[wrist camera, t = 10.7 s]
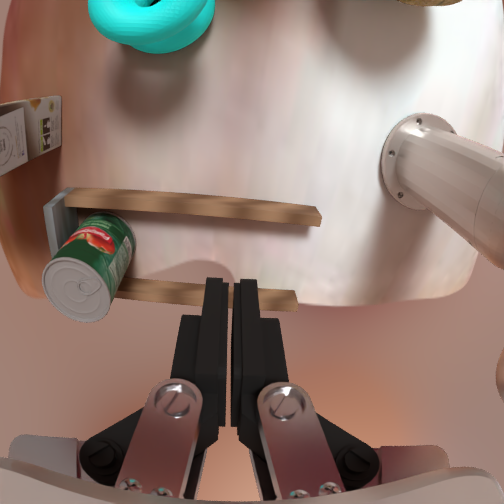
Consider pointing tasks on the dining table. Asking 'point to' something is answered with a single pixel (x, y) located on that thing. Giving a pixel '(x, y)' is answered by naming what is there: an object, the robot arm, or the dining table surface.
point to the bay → (66, 219)
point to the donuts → (152, 22)
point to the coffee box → (28, 130)
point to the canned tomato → (90, 267)
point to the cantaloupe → (430, 2)
